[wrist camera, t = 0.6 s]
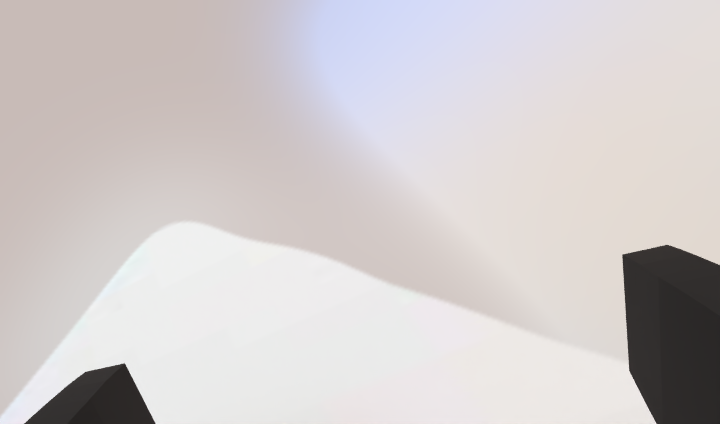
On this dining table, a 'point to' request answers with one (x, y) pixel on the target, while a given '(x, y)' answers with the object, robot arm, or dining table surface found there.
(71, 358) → the dining table surface
